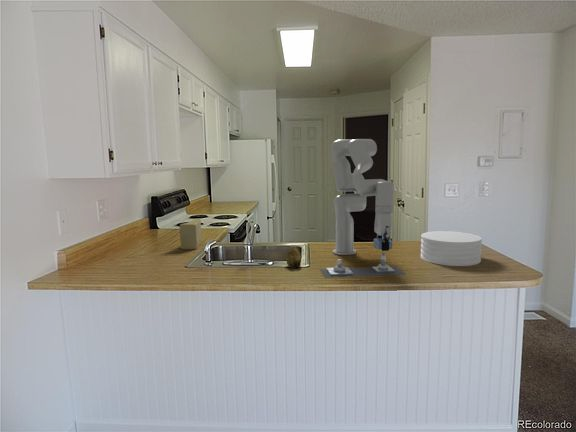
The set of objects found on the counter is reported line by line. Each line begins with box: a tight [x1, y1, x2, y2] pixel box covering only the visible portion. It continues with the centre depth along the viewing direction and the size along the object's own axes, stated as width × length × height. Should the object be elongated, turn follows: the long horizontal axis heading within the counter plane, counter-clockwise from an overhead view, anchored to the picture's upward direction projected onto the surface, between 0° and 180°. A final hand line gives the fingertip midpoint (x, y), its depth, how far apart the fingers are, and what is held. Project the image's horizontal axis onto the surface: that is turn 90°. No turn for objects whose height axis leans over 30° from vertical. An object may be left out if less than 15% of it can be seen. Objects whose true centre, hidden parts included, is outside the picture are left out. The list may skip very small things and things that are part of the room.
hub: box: [326, 258, 353, 276], centre depth 178 cm, size 10×10×6 cm
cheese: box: [179, 218, 203, 250], centre depth 239 cm, size 22×10×15 cm, turn 174°
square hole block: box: [373, 237, 393, 250], centre depth 179 cm, size 6×6×4 cm
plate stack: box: [420, 230, 483, 267], centre depth 199 cm, size 28×28×12 cm
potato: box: [285, 247, 302, 269], centre depth 191 cm, size 8×13×8 cm, turn 170°
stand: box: [371, 252, 395, 273], centre depth 179 cm, size 8×8×8 cm
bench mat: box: [319, 266, 408, 279], centre depth 178 cm, size 13×36×1 cm, turn 95°
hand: (382, 248), depth 179 cm, fingers closed on square hole block, 6 cm apart
